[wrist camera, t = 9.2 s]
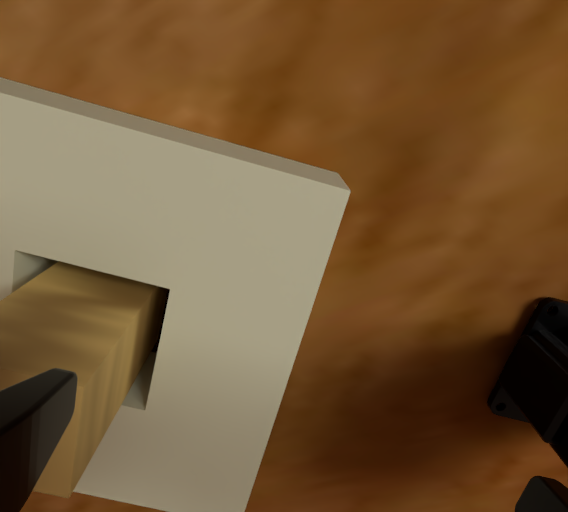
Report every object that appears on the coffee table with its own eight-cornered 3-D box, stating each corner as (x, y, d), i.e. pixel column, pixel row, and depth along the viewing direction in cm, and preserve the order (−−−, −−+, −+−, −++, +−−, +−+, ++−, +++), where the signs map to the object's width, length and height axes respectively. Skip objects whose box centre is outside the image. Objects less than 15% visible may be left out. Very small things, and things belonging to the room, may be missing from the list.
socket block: (338, 173, 18) (350, 191, 14) (247, 458, 23) (239, 526, 20) (-50, 63, 17) (-147, 51, 13) (-55, 390, 22) (-125, 449, 18)
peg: (171, 265, 20) (83, 386, 11) (158, 339, 21) (68, 498, 12) (84, 243, 19) (-75, 351, 11) (75, 319, 21) (-73, 469, 12)
